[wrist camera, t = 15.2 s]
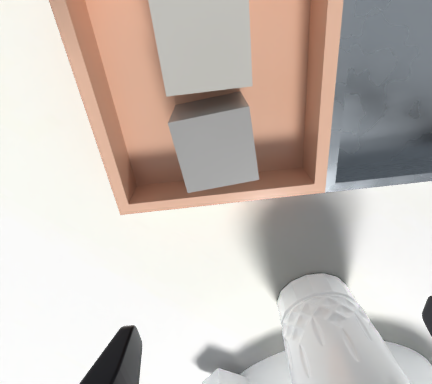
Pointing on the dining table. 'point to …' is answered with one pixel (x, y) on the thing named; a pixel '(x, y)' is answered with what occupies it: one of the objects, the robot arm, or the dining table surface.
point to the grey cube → (214, 142)
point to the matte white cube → (202, 44)
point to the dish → (163, 106)
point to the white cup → (332, 336)
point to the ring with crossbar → (280, 377)
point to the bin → (382, 96)
